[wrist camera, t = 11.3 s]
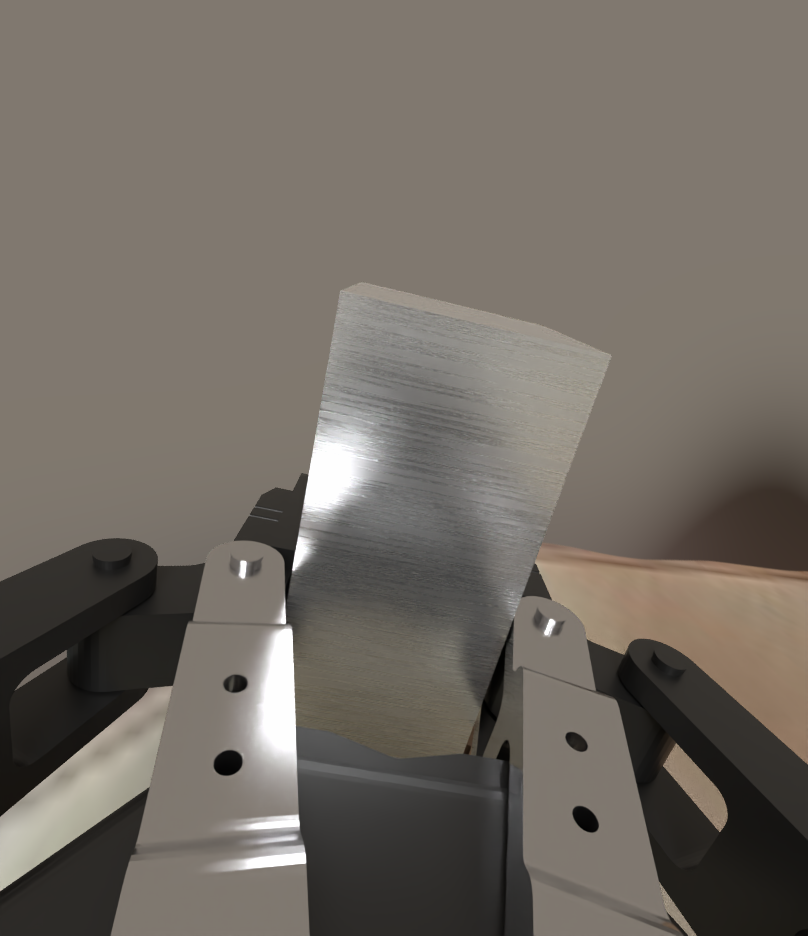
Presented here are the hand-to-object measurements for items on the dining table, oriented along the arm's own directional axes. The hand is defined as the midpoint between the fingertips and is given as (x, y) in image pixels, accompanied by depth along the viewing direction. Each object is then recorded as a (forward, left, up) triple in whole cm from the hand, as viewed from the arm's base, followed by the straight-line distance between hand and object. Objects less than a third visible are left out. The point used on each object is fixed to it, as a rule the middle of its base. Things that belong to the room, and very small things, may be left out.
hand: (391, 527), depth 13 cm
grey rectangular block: (+3, +1, -8) cm, 9 cm away
